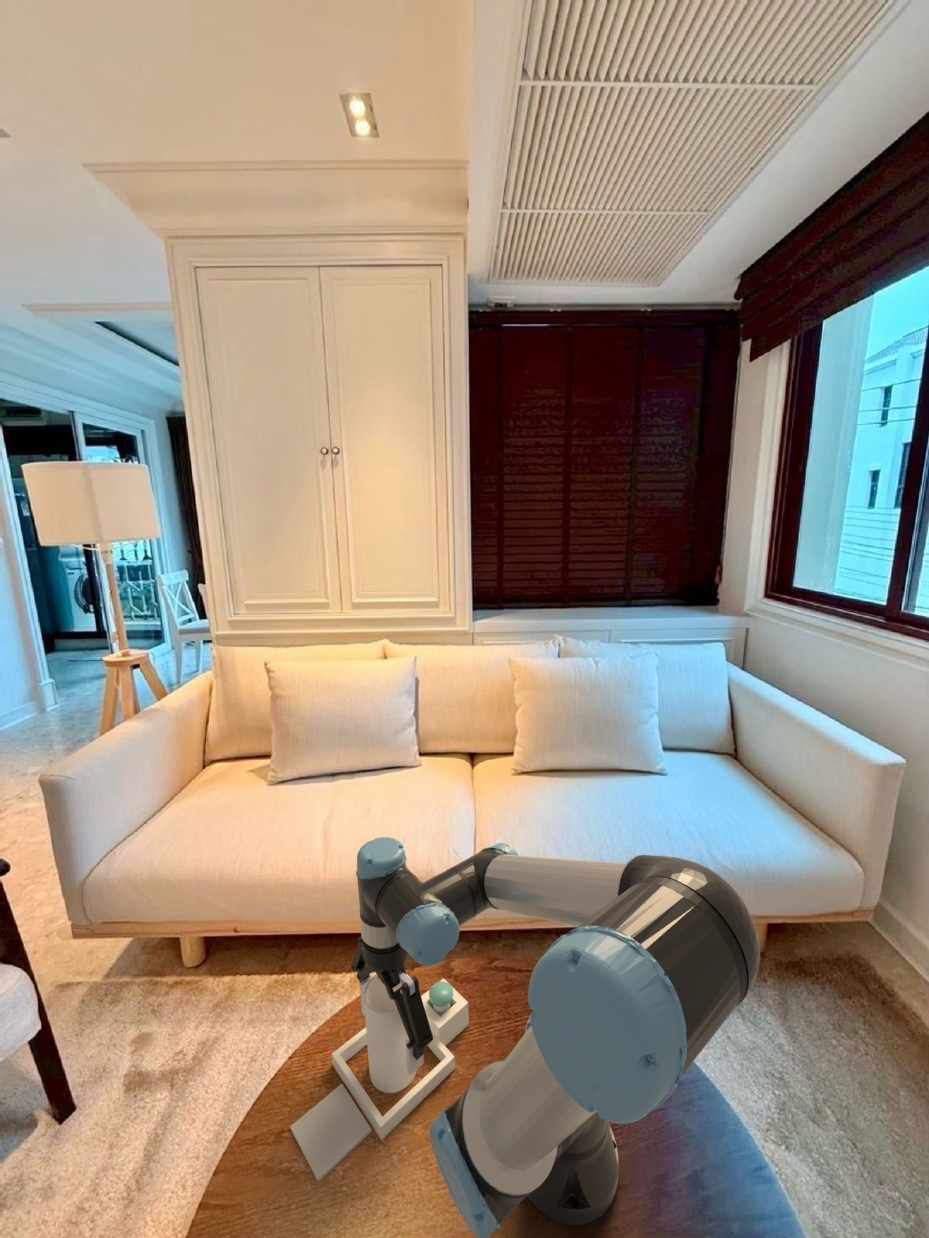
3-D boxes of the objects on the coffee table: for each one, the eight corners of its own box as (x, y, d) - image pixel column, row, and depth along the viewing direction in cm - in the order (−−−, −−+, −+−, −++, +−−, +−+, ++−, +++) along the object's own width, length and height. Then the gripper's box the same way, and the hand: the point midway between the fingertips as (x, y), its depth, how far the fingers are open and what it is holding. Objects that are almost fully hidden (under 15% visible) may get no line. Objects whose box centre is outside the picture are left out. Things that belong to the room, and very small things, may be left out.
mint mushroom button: (458, 1013, 96) (458, 992, 95) (440, 1029, 94) (439, 1007, 93) (443, 997, 100) (442, 977, 99) (425, 1012, 97) (424, 991, 96)
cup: (421, 1044, 93) (417, 970, 90) (412, 1095, 85) (408, 1015, 82) (376, 1041, 94) (371, 967, 91) (363, 1090, 86) (357, 1011, 83)
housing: (483, 1040, 94) (483, 1017, 93) (381, 1139, 80) (379, 1114, 78) (431, 986, 105) (430, 965, 104) (332, 1065, 90) (330, 1041, 89)
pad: (371, 1131, 81) (371, 1128, 81) (318, 1182, 75) (317, 1179, 75) (342, 1085, 87) (341, 1083, 87) (290, 1128, 81) (290, 1126, 81)
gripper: (453, 966, 78) (456, 1078, 82) (363, 880, 95) (369, 976, 100) (413, 998, 73) (418, 1115, 77) (326, 901, 91) (334, 1001, 95)
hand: (391, 1037), depth 89 cm, fingers open, 13 cm apart
